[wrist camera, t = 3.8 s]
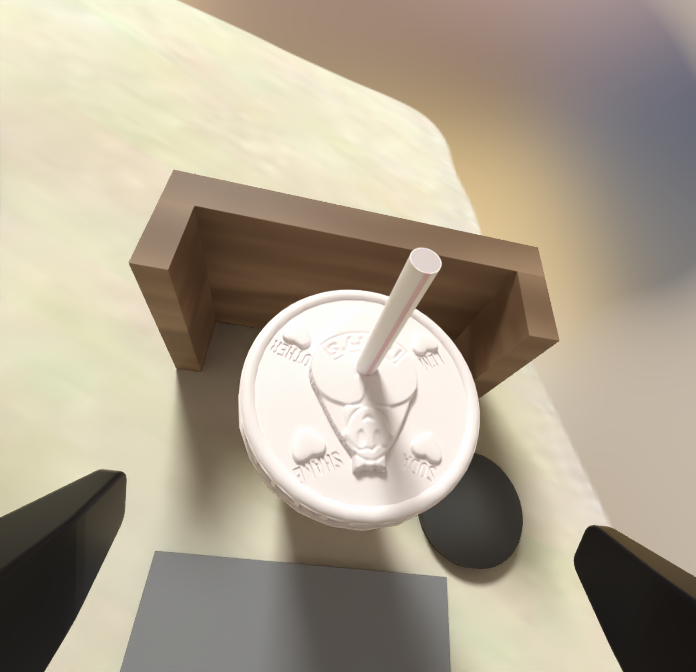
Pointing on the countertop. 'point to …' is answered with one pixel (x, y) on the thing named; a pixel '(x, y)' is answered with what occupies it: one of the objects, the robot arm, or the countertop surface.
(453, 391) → the smoothie
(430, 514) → the dark grey disc
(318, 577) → the mat
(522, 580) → the countertop surface
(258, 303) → the cubby
